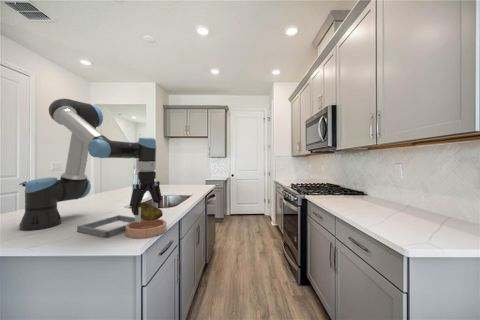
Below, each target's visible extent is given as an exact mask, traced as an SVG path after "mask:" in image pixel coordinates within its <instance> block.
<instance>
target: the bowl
mask: <svg viewBox="0 0 480 320" xmlns="http://www.w3.org/2000/svg"><path fill="white" fill-rule="evenodd" d="M125 225H126V226H125V232H124V233H125V236H126V237H127V238H130V239H149V238H148V237H150V238H153V237H157V236H161V235H163V234H164V233H165V232H166V230H167V221H166V220H165V219H160V218H159V219H156V220H150V221H147V220H141V222H140V223H139V222H135V221H134V222H127V224H125Z"/></svg>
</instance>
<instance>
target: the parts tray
mask: <svg viewBox="0 0 480 320" xmlns="http://www.w3.org/2000/svg"><path fill="white" fill-rule="evenodd" d="M141 220H143V219H141ZM118 221H119V222H127V223H131V222H134V221H135V216H129V215H128V216H127V215H122V214H121V215H120V214H119V215H115V216H110V217H108V218H104V219H100V220H95V221H93V222H88V223H86V224H85V223H84V224H80V225H78V226H77V227H76V228H77V229H76V232H77V233H81V234H86V235H90V236H95V237H100V238H104V239H109V238H110V237H114V236H116V235H119V234H122V233H125V226H126V225H127V224H125V225H122V226H119V227H116V228H112V229H108V230H104V229H99V228H98V227H100V226H104V225H108V224H112V223H115V222H118Z"/></svg>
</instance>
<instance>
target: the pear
mask: <svg viewBox="0 0 480 320" xmlns="http://www.w3.org/2000/svg"><path fill="white" fill-rule="evenodd" d="M139 207H141V219H143V220H147V221H150V220H156V219H160V218H162V217H163V211H162V209H160V208H159V207H158V208H156V207H153V206H152V205H150V204H149V203H146V202H141V204H140V206H139ZM131 213H132V214H133V216H135V215H134V207H131Z"/></svg>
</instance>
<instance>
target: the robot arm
mask: <svg viewBox="0 0 480 320" xmlns="http://www.w3.org/2000/svg"><path fill="white" fill-rule="evenodd" d="M48 114H49V116H50V118H51V119H52V120H53V121H54V122H56V123H57V124H58V125H62V126H64V127H65V128H66V129H67V130H69V132H71V135H70V142H69V148H68V153H67V158H66V159H67V160H66V164H65V171H64V173H61V174H60V179H58V177H54V176H53V177H43V178H42V177H41V178H37V179H32V180H28V181H27V182H26V183H25V187H24V214H23V216H22V218H21V221H20V222H19V230H21V231H36V230H43V229H44V230H45V229H49V228H52V227H57V226H58V225H60V224H62V216H61V214H60V212H59V209H58V203H59V202H67V201H72V200H74V201H75V200H79V199H83V198H85V197H87V195H88V194H89V192H90V191H91V188H92V186H91V181H90V179H88V176H87V175H86V167H87V162H88V156H89V155H90V156H91V157H92V158H98V159H109V158H110V159H137V160H138V161H137V162H138V164H137V168H138V169H137V170H138V174H137V179H138V181H139V182H138V183H133V184H132V193H131V197H130V202H129V207H130V208H132V207H134V215H133V216H134V217H135V222H139V223H140V222H141V207H139V206H140V204H141V203H142V201H143V198H144V197H145V194H146V193H147V192H148V193H149V194H150V196H151V199H152V201H153V202H152V205H151V206H153V207H156V208H158V209H159V204H160V203H161V201H162V200H163V199H162V193H161V192H162V191H161V187H160V183H161V182H160V181H156V179H157V177H156V176H157V172H156V169H157V167H156V165H157V163H156V162H157V142H156V141H157V140H156V139H155V138H154V137H146V136H145V137H138V141H137V142H129V141H119V140H118V141H117V140H112V139H111V140H110V139H109V138H108V137H106V136H105V134H103V133H102V132H100V131H99V130H98V129H97V128H99V127H101V125H102V123H103V122H104V115H103V112H102V111H101V109H100V107H98V106H96V105H94V104H91V103H86V102H82V101H78V100H73V99H71V98H58V99H55V100H53V101H52V102H51V103H50V105H49V106H48Z"/></svg>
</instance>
